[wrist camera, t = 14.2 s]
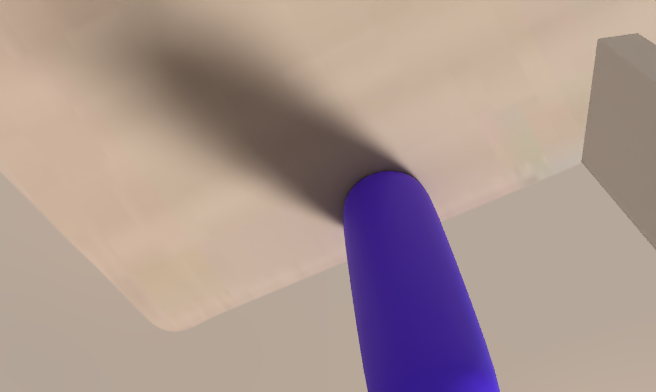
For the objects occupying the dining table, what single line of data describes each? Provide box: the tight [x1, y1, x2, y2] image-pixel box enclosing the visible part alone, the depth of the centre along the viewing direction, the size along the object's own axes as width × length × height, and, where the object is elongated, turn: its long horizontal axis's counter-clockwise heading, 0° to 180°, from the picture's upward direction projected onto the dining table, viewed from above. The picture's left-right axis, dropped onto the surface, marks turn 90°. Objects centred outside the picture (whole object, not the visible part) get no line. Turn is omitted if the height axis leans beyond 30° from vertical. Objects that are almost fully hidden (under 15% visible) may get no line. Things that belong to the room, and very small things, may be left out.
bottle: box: [343, 171, 500, 392], centre depth 42 cm, size 8×8×30 cm
